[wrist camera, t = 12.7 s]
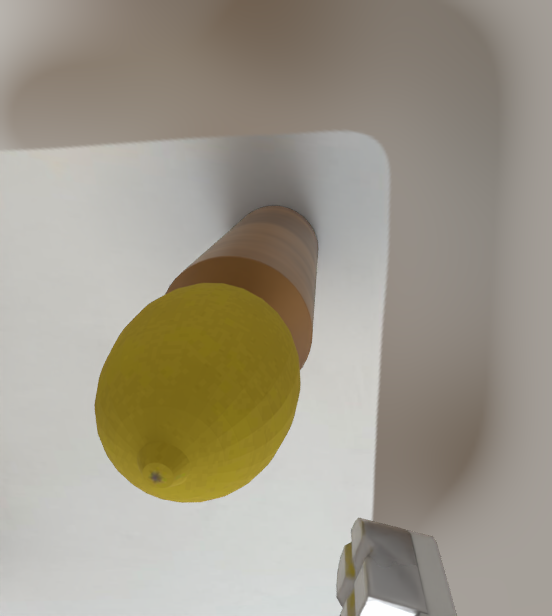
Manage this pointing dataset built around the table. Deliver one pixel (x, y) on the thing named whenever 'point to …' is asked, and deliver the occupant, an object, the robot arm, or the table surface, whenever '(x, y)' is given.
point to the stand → (267, 267)
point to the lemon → (198, 392)
